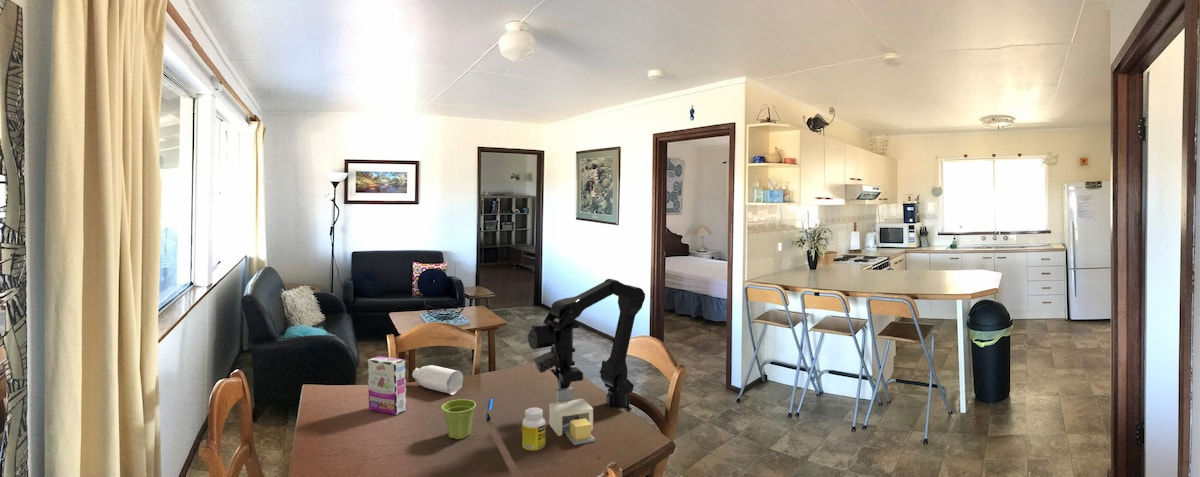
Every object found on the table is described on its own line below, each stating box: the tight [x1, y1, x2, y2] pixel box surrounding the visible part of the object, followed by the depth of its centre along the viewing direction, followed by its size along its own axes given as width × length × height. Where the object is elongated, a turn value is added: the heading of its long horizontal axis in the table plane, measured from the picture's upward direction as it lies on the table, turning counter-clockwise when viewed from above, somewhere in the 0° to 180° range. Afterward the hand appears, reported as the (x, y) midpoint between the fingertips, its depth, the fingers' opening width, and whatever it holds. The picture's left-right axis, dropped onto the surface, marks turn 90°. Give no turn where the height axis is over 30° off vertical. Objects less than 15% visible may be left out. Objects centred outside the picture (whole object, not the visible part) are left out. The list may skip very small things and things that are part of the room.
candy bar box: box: [367, 355, 407, 416], centre depth 178 cm, size 11×5×16 cm, turn 68°
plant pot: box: [441, 399, 477, 440], centre depth 161 cm, size 9×9×9 cm
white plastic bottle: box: [411, 364, 464, 396], centre depth 197 cm, size 8×19×8 cm, turn 60°
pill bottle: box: [521, 407, 546, 452], centre depth 152 cm, size 6×6×11 cm
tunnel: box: [548, 398, 594, 437], centre depth 167 cm, size 10×15×8 cm
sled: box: [555, 386, 596, 446], centre depth 161 cm, size 6×17×10 cm, turn 22°
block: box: [570, 418, 592, 441], centre depth 156 cm, size 4×4×4 cm
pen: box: [486, 397, 494, 423], centre depth 180 cm, size 1×19×1 cm, turn 6°
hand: (562, 394), depth 170 cm, fingers closed
